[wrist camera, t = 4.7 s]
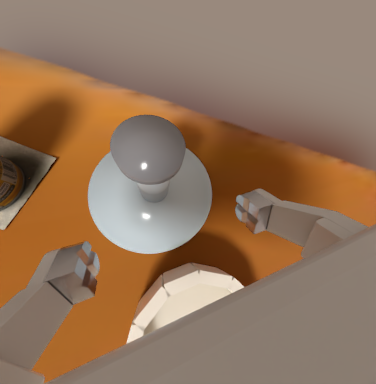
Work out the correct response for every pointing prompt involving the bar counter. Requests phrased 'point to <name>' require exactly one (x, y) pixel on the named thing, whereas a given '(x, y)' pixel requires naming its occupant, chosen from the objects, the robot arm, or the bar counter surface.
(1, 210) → the condiment
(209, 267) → the bowl
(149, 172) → the lid
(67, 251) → the robot arm
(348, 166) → the bar counter surface
